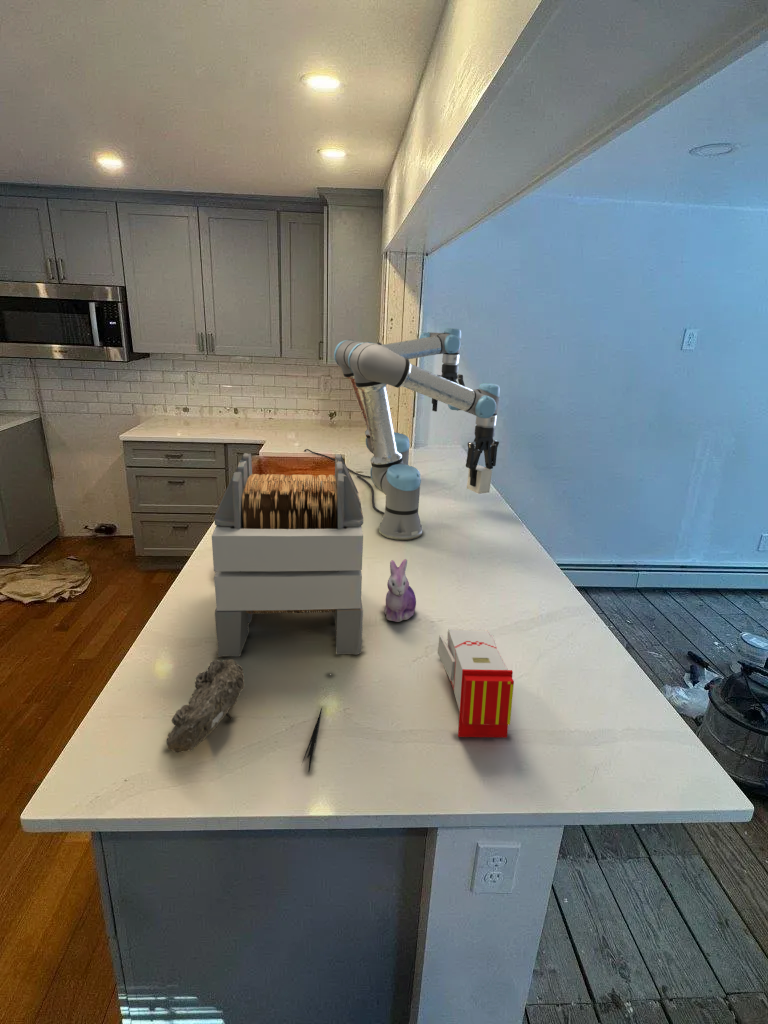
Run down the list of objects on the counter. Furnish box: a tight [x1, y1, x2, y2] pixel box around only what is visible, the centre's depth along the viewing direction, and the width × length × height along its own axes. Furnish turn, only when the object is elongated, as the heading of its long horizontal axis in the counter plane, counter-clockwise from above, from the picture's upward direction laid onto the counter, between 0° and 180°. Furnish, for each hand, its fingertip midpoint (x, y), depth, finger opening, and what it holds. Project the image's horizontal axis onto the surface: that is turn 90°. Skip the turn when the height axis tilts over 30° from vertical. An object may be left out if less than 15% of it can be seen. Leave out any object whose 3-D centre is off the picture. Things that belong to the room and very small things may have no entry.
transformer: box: [211, 452, 364, 658], centre depth 136 cm, size 34×33×41 cm
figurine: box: [384, 558, 417, 623], centre depth 145 cm, size 9×10×15 cm
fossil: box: [166, 658, 245, 754], centre depth 106 cm, size 22×10×15 cm
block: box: [466, 464, 493, 495], centre depth 220 cm, size 5×8×9 cm
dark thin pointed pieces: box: [301, 673, 332, 771], centre depth 108 cm, size 2×28×2 cm
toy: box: [437, 628, 515, 738], centre depth 117 cm, size 12×13×30 cm
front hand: (478, 484), depth 221 cm, fingers closed on block, 5 cm apart
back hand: (446, 410), depth 266 cm, fingers open, 13 cm apart
